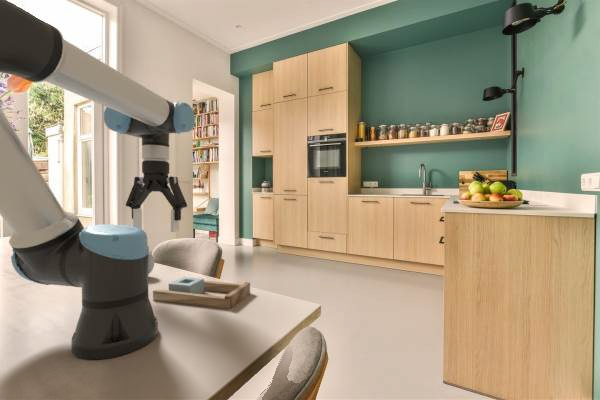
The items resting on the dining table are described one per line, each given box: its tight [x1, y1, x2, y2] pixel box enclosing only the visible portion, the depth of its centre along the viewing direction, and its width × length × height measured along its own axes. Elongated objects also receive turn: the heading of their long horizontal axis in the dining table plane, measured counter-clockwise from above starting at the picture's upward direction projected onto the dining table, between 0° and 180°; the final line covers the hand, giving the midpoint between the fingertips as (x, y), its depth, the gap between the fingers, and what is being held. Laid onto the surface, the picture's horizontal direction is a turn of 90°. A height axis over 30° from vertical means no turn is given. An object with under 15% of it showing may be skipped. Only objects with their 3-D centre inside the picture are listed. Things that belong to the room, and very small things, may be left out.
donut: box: [148, 251, 155, 275], centre depth 106 cm, size 10×3×10 cm, turn 84°
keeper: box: [168, 276, 205, 294], centre depth 89 cm, size 7×7×4 cm
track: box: [152, 280, 251, 310], centre depth 87 cm, size 12×24×3 cm, turn 75°
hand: (155, 230), depth 91 cm, fingers open, 13 cm apart
